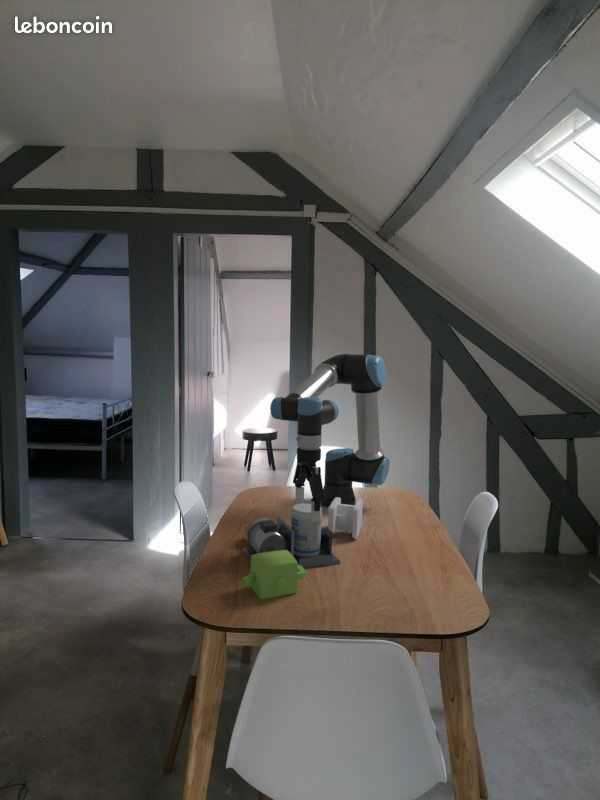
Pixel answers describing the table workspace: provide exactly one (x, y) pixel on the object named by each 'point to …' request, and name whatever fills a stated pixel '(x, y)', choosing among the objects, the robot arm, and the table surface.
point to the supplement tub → (306, 531)
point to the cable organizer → (345, 517)
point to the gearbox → (274, 574)
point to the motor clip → (288, 543)
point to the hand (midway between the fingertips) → (307, 513)
